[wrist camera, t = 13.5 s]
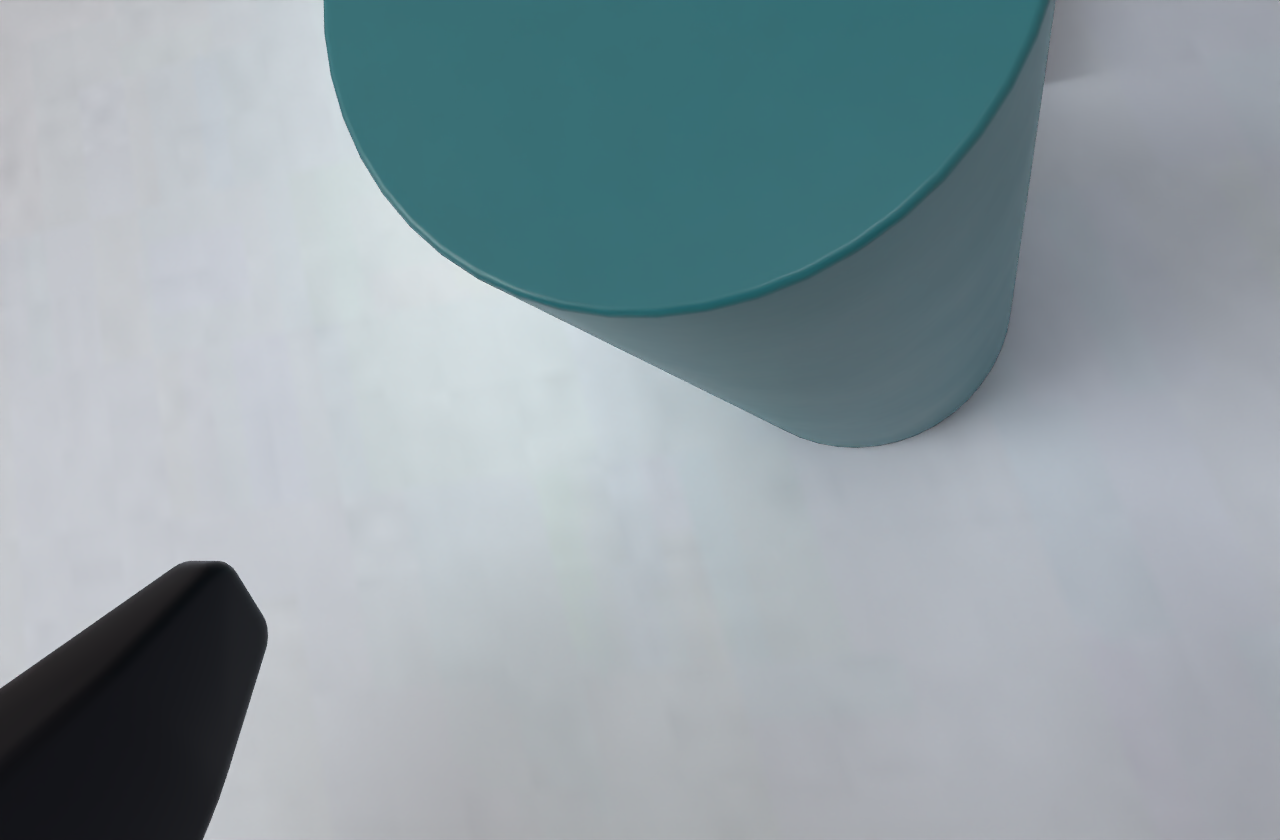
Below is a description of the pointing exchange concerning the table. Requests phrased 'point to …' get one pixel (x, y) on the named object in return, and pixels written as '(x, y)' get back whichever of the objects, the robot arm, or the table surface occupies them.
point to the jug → (723, 181)
